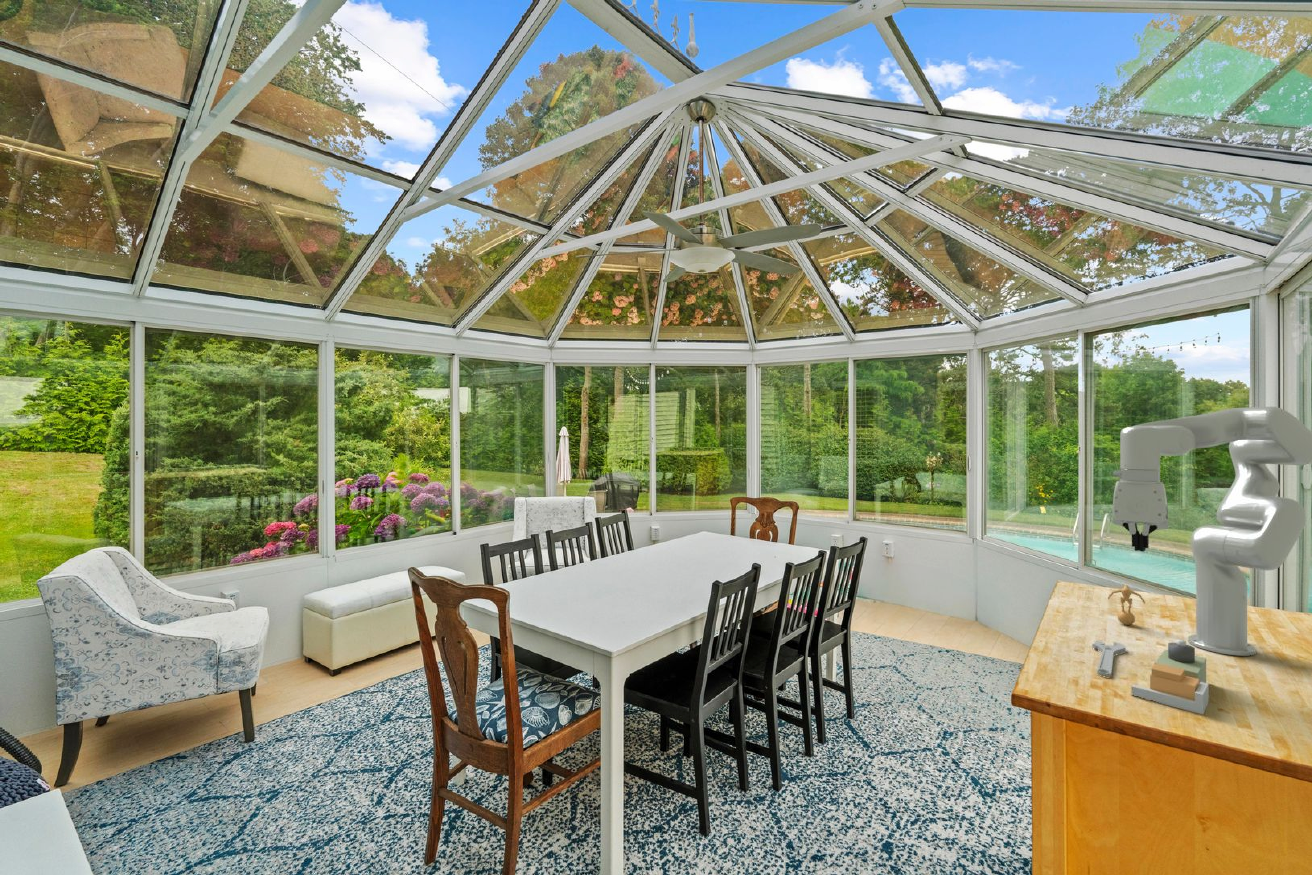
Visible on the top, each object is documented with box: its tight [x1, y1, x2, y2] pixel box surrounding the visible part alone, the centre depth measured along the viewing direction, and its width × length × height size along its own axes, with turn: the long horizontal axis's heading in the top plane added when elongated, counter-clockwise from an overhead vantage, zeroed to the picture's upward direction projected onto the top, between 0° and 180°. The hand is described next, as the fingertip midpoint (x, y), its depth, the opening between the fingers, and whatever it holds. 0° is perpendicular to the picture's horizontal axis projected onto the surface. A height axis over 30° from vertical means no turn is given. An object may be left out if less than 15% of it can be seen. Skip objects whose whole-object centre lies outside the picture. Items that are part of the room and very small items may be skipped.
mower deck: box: [1131, 639, 1210, 716], centre depth 126 cm, size 20×11×10 cm, turn 130°
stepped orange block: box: [1149, 663, 1199, 700], centre depth 121 cm, size 5×7×6 cm
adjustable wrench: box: [1091, 640, 1126, 678], centre depth 143 cm, size 25×6×2 cm, turn 134°
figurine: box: [1107, 584, 1146, 626], centre depth 167 cm, size 8×6×12 cm
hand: (1140, 550), depth 142 cm, fingers closed
